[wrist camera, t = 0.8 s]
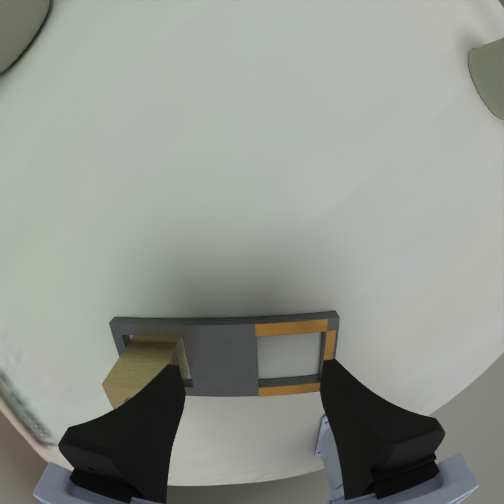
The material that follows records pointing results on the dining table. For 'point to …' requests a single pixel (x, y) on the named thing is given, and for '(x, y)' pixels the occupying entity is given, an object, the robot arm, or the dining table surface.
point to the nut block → (142, 366)
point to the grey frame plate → (233, 350)
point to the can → (489, 74)
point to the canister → (19, 27)
